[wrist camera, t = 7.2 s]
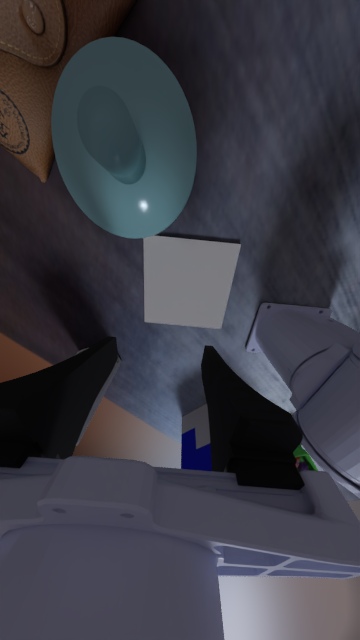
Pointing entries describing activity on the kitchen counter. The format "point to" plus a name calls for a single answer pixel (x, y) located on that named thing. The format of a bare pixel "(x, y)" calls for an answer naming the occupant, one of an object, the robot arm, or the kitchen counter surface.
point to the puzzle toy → (196, 440)
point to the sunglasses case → (43, 66)
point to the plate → (187, 280)
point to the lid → (124, 137)
